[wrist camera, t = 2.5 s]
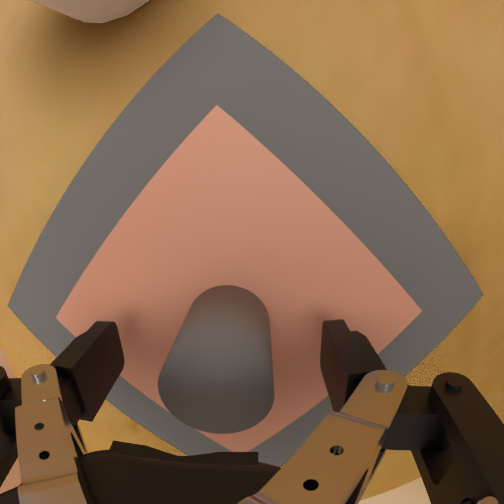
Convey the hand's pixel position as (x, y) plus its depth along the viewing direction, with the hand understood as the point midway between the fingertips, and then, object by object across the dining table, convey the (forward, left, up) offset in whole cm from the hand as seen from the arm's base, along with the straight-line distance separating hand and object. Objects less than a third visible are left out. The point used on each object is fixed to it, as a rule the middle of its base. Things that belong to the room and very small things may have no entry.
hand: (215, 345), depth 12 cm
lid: (0, 0, -3) cm, 3 cm away
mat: (0, 0, -4) cm, 4 cm away
